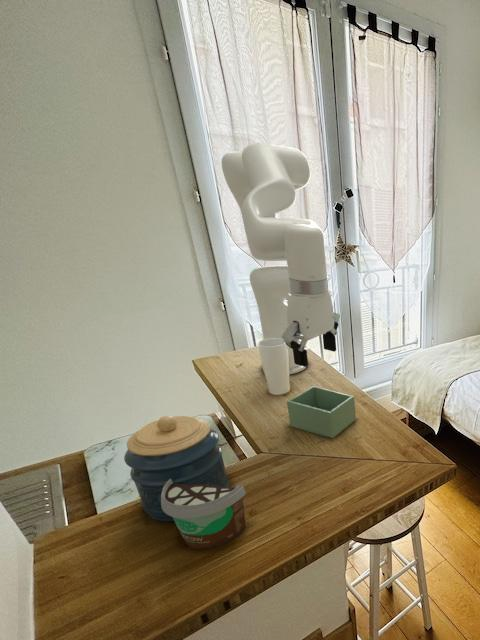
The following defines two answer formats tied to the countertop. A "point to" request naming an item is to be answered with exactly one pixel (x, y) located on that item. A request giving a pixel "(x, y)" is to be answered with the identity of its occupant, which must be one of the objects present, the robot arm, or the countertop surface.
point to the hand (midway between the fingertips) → (316, 357)
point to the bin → (321, 411)
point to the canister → (173, 459)
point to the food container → (205, 512)
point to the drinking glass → (275, 364)
